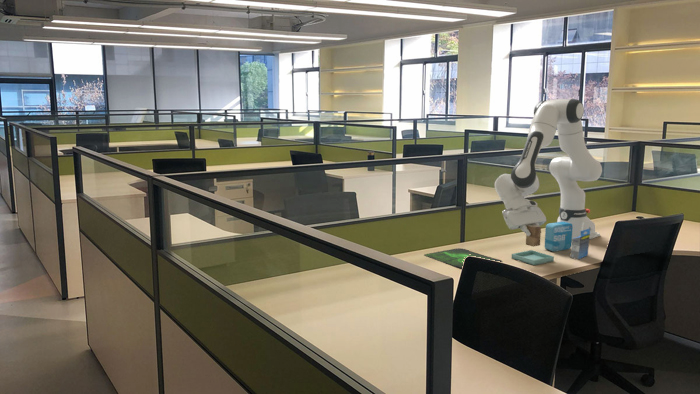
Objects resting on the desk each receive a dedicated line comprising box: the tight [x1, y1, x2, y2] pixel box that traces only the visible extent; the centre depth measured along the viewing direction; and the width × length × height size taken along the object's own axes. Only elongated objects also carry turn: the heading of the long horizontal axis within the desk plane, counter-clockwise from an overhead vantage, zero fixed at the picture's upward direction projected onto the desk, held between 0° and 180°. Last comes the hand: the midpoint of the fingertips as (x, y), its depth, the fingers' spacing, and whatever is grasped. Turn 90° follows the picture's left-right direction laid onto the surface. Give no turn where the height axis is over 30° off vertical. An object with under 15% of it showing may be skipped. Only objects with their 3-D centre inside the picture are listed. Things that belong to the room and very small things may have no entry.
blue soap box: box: [544, 221, 573, 253], centre depth 255 cm, size 12×4×12 cm, turn 116°
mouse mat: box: [423, 247, 503, 270], centre depth 242 cm, size 27×22×1 cm
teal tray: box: [511, 249, 555, 266], centre depth 239 cm, size 12×12×2 cm
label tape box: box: [570, 228, 590, 260], centre depth 243 cm, size 9×4×12 cm, turn 133°
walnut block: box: [525, 225, 542, 247], centre depth 238 cm, size 4×4×8 cm
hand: (534, 234), depth 237 cm, fingers closed on walnut block, 4 cm apart
